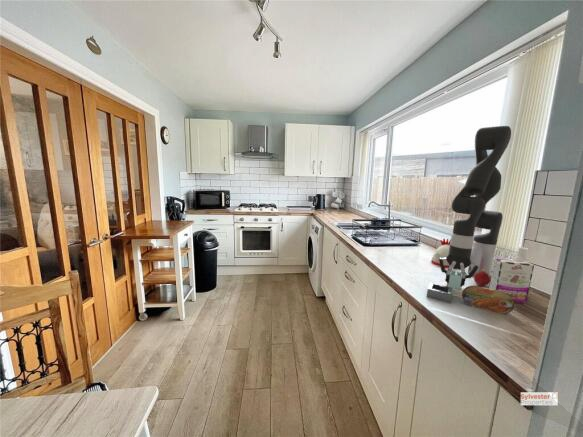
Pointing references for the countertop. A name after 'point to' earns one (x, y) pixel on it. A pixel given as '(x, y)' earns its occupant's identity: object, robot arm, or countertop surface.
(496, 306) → the tin
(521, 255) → the bath foam
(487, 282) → the onion
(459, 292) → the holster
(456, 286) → the plug
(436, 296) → the block
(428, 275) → the countertop surface
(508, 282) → the candy bar box
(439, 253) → the white dome
